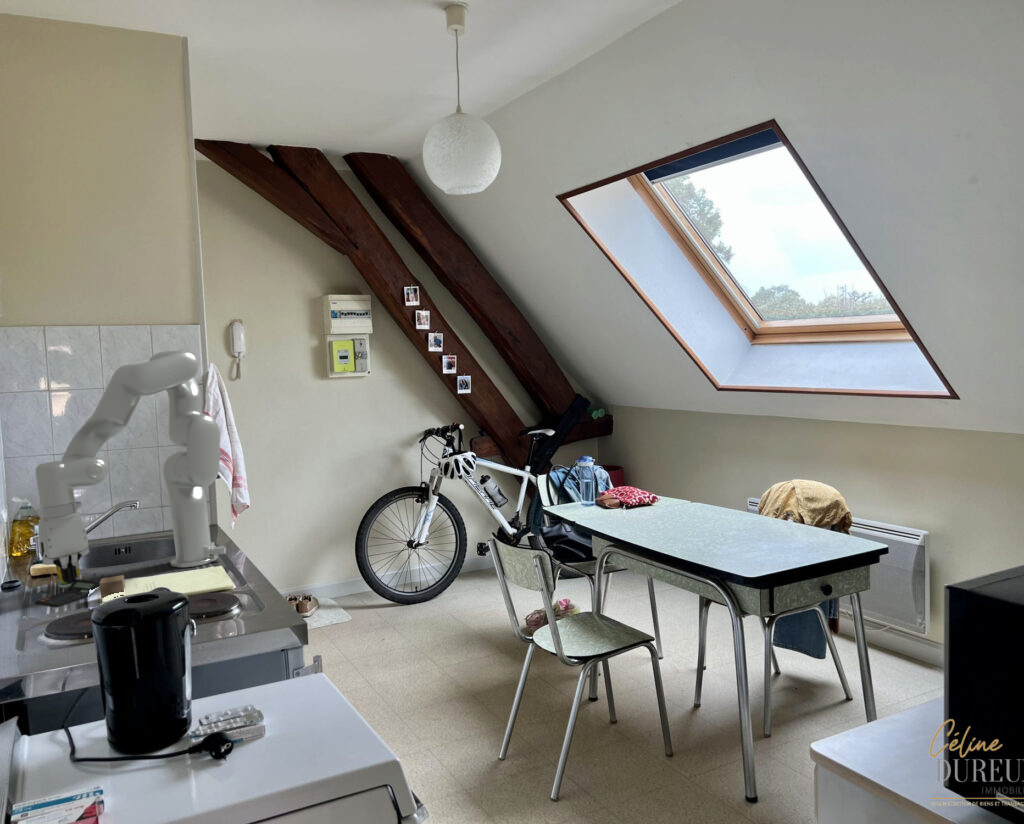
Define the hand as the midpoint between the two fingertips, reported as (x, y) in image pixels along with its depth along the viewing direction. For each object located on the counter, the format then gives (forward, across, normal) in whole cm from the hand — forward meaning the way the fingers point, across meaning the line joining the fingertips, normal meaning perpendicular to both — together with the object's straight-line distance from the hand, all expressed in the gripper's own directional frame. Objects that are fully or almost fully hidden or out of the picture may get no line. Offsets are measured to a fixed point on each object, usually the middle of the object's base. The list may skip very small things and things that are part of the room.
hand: (70, 581), depth 200 cm
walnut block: (+4, -4, +12) cm, 14 cm away
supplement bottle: (+4, -5, -12) cm, 14 cm away
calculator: (+4, +1, 0) cm, 4 cm away
